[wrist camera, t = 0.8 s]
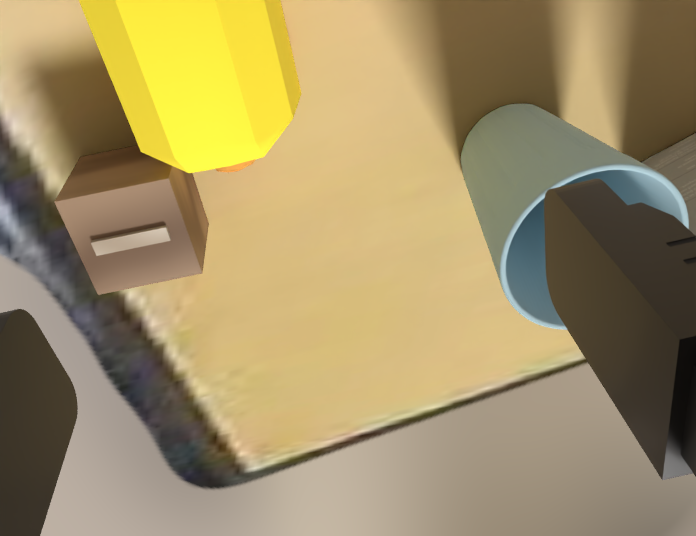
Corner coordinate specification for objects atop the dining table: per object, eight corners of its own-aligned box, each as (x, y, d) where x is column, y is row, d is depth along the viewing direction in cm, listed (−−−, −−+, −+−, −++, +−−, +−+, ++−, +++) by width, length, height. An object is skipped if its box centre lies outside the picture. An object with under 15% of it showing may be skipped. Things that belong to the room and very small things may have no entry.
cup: (539, 231, 38) (624, 345, 29) (418, 199, 36) (469, 311, 27) (607, 107, 34) (727, 194, 25) (475, 63, 32) (556, 142, 23)
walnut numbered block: (80, 156, 32) (53, 204, 28) (180, 135, 32) (168, 180, 28) (117, 241, 35) (97, 297, 31) (208, 222, 35) (201, 275, 31)
